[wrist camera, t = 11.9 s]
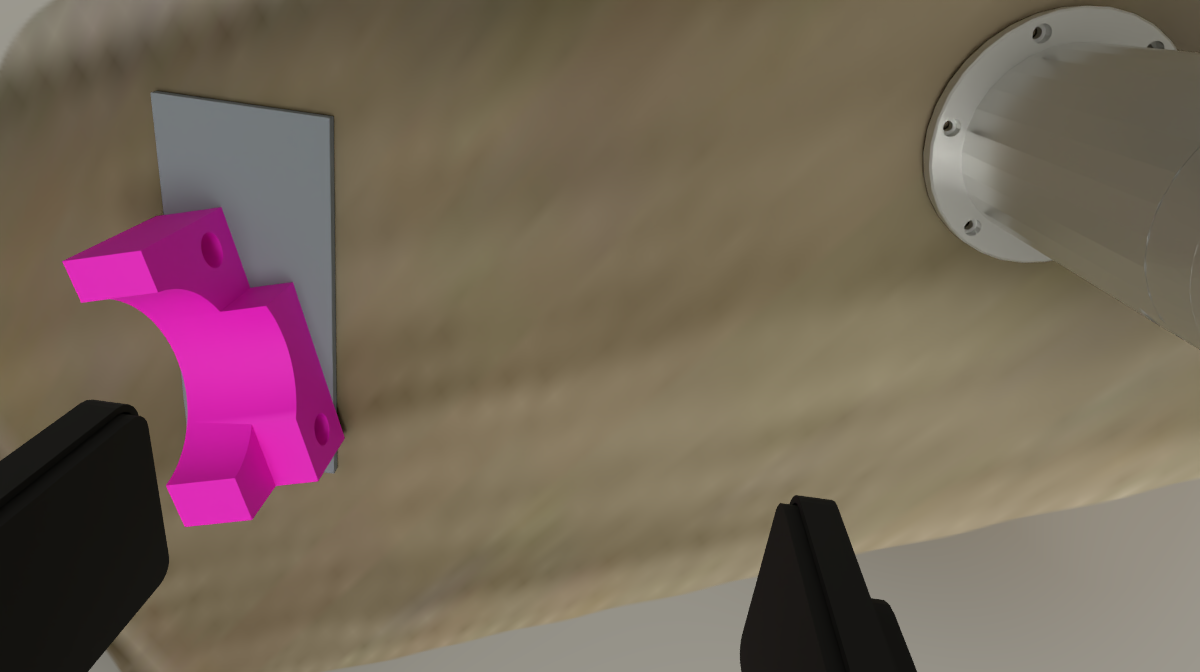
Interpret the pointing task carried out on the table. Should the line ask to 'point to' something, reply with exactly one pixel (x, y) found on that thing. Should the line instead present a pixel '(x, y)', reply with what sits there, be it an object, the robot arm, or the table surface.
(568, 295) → the table surface
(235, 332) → the toy block
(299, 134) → the mat
